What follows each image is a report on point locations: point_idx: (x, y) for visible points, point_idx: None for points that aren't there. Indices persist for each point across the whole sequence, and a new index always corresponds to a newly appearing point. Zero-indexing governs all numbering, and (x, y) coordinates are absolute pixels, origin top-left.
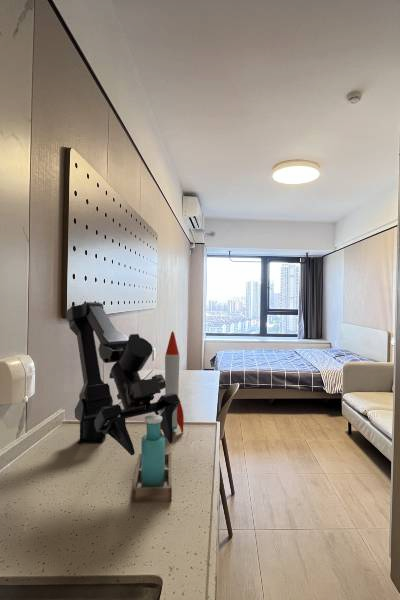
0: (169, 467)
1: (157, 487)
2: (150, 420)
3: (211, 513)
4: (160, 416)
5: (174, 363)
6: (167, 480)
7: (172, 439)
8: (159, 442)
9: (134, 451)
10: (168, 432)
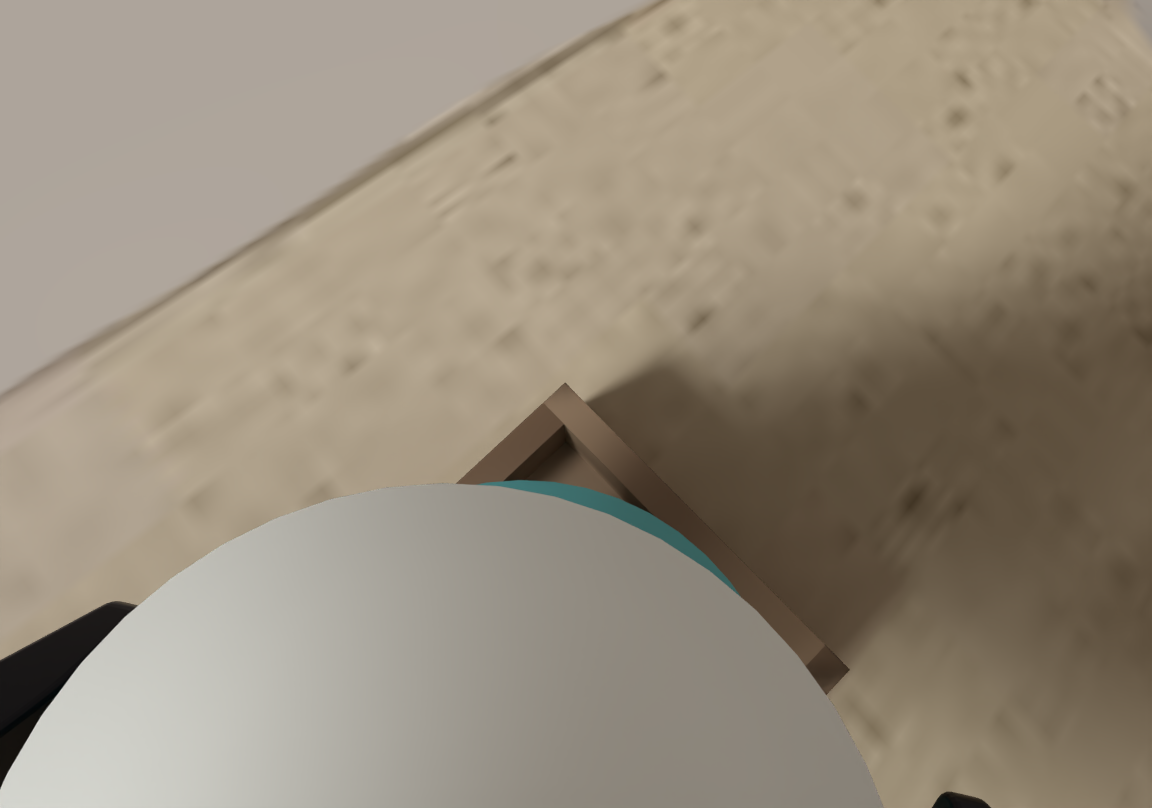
0: None
1: (651, 494)
2: (834, 762)
3: (491, 98)
4: (65, 798)
5: None
6: None
7: (105, 615)
8: (577, 491)
9: (962, 801)
10: (8, 760)
